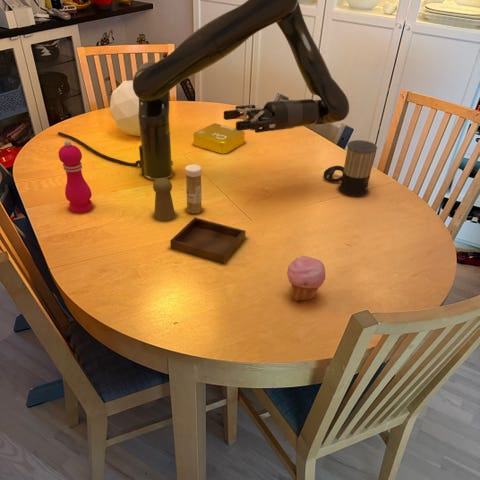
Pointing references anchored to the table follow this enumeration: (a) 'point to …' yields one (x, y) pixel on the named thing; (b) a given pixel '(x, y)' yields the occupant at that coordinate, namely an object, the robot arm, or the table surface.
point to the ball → (125, 108)
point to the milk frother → (355, 168)
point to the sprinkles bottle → (193, 188)
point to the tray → (208, 240)
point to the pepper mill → (75, 179)
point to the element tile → (219, 138)
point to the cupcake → (305, 277)
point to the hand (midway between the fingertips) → (230, 120)
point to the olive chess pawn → (163, 200)
